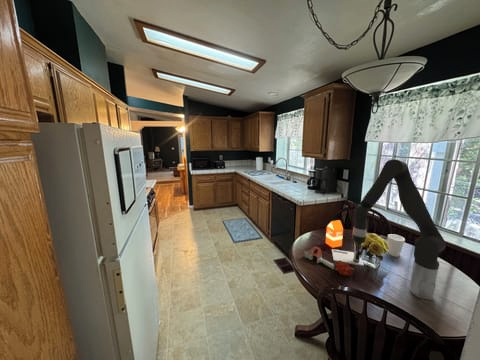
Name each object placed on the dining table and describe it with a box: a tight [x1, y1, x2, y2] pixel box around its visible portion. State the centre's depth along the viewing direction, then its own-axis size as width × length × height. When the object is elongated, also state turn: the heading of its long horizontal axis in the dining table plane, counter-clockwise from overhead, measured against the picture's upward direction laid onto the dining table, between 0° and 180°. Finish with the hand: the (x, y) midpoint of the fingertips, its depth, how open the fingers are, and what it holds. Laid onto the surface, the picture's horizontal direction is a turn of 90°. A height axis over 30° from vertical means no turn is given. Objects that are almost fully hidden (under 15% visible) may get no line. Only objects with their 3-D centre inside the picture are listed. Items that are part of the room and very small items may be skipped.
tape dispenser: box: [304, 245, 335, 270], centre depth 135 cm, size 18×5×20 cm
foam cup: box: [387, 233, 406, 258], centre depth 139 cm, size 10×9×13 cm
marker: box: [353, 248, 360, 263], centre depth 130 cm, size 4×4×12 cm
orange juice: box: [325, 219, 344, 249], centre depth 152 cm, size 8×9×20 cm
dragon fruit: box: [333, 260, 356, 277], centre depth 120 cm, size 8×8×12 cm
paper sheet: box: [331, 248, 365, 267], centre depth 137 cm, size 14×18×1 cm
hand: (356, 257), depth 131 cm, fingers closed on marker, 3 cm apart
